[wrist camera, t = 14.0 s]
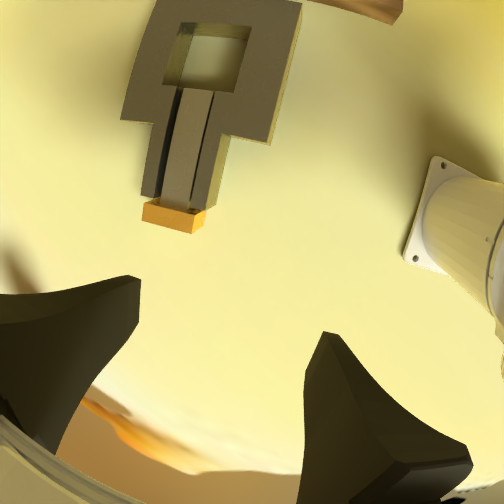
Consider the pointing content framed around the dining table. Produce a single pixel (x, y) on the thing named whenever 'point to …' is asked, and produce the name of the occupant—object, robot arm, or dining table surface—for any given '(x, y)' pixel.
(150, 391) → the dining table surface
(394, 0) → the frame
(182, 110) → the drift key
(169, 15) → the socket block
